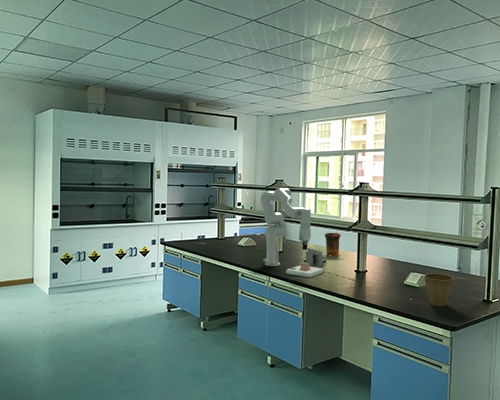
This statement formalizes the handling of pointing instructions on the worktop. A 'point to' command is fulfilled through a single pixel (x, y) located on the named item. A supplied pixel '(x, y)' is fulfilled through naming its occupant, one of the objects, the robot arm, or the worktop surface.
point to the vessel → (332, 243)
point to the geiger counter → (315, 258)
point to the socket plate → (309, 273)
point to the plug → (305, 266)
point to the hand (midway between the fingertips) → (304, 249)
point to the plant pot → (438, 288)
